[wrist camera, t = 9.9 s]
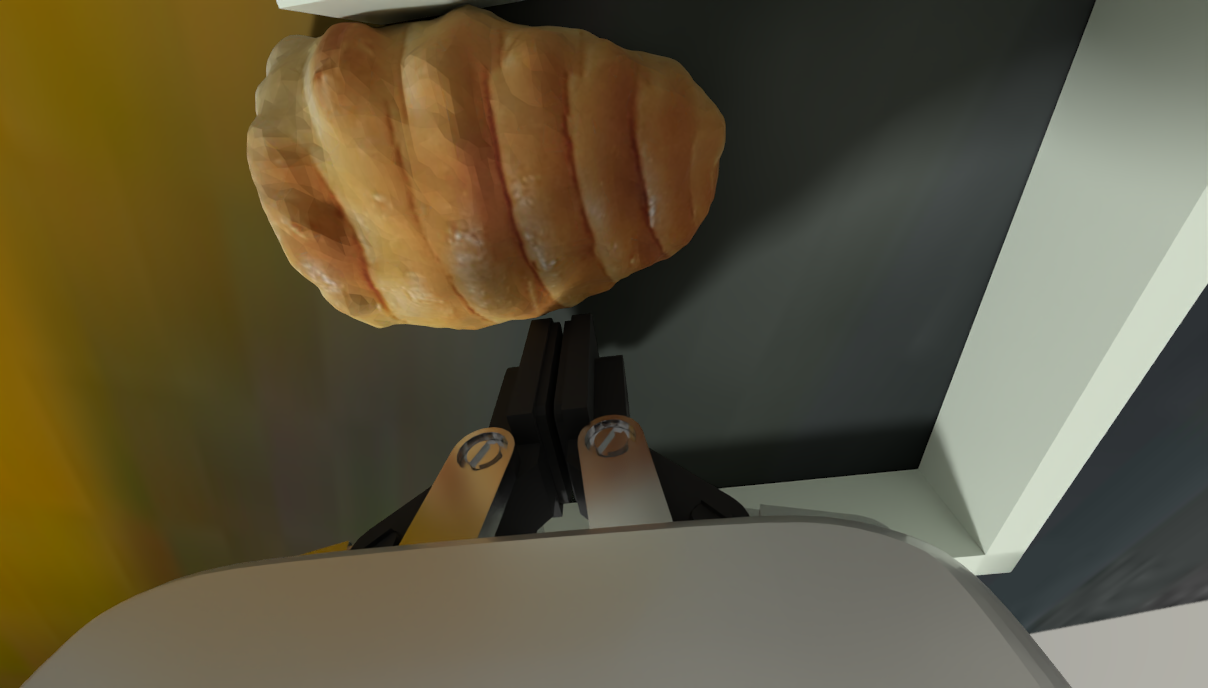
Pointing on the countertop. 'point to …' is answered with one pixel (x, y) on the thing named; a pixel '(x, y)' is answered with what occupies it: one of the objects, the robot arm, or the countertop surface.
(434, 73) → the pastry
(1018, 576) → the countertop surface
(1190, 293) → the c-shaped clip
